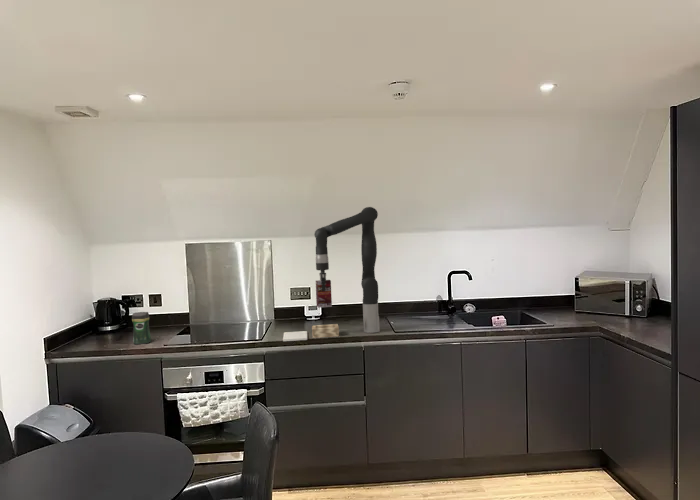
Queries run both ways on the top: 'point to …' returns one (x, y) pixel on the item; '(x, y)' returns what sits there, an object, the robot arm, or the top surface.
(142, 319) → the coffee jar
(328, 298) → the supplement box
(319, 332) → the birch caddy
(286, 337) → the white flat slab
